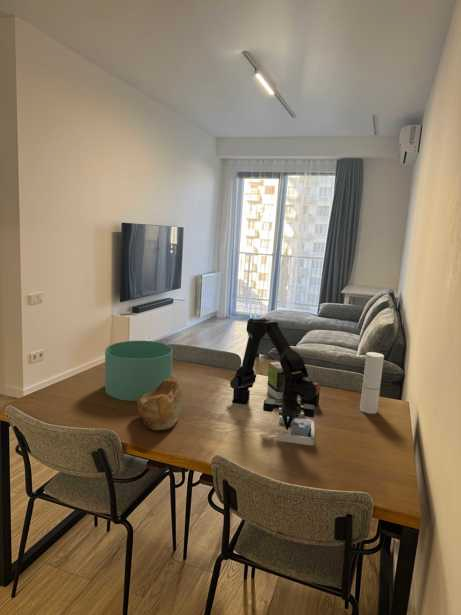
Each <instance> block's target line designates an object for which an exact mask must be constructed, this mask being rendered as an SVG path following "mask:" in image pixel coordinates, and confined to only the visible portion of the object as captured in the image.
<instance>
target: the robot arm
mask: <svg viewBox="0 0 461 615" xmlns="http://www.w3.org/2000/svg"><path fill="white" fill-rule="evenodd" d="M246 332H247V335H248V338H247V342H246V347H245V350H244V355H243V359H242V363H241V366H240V367H239V368H238V369H237V370H236V372H235V375H234V376H233V378H232V380H230V381H229V384H230V388H232V389H233V392H232V394H233V395H232V400H231V402H232V403H236V404H244V405H247V404H248V402H249V401H250V393H251V390H250V389H251V388H253V387H254V384H255V383H256V379H257V374H256V372H255V370H254V366H255V363H256V359H257V354H258V351H259V347H260V342H261V340H262V339H263V337H265V335H266V334H267V335H268V337H269V339H270V342H272V344H273V346H274V348H275V350H276V351H277V353H278V356H279V362H280V364H281V366H282V369H283V372H281V373H280V374H281V375H282V376H284V382H283V393H282V399H281V402H280V403H278V402H276V399H271V398H265V400H264V402H263V407H262V411H263V412H269V413H272V412H273V411H275V410H274V409H278V415H279V416H282V417H283V420H284V424H283V425H284V427H285V430H287V431H288V430H289V429H290V426H291V422H292V420H293V419H294V418H295V417H298V414H301V412H304V415H305V416H306V418H315V414H316V407H315V406H314V405H311V404H303V406H304V407H301V406H302V403H300V404H298V403H297V401H298V395H299V396H301V397H300V398H302V397H303V398H305V399H307V400H310V399H312V398H313V397H314V396H315V394H316V387H315V385H313V383H314V382H313V380H312V379H310V378H309V373H308V369H307V370H306V367H305V366H306V365H305V361H304V359H303V357H302V356H301V355H300V353H299V352H297V351H295V350H294V349H293V348H292V347H291V346H290V344H289V342H288V341H287V339H286V337H285V336H284V334H283V332H282V331H281V329H280V328H279V323H278V322H277V321H275V320H271V319H267V318H265V317H263V316H262V317H253V318H248V320H247V322H246ZM300 371H301V373H296V374H294V372H300ZM305 377H306V378H305ZM287 416H288V417H289V419H288V422H287Z"/></svg>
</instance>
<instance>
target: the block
mask: <svg viewBox="0 0 461 615" xmlns="http://www.w3.org/2000/svg"><path fill="white" fill-rule="evenodd" d="M310 432H311V422H309V421H304V420H299V419H295V421H294V422H293V424H292V425H291V430H290V434H291V435H298V436H305V437H310Z"/></svg>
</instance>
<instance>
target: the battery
mask: <svg viewBox="0 0 461 615" xmlns="http://www.w3.org/2000/svg"><path fill="white" fill-rule="evenodd" d="M313 385H315V387H316V394H315V396H314V397H313V398H312V399H310V400H307V399H305V398H303V397H301V398H300V399H301V400H300V404H301V405H304V404H311V405H314V406H315V408H316V407H317V406H318V405H319V404H320V395H321V384H319V383H318V382H313Z"/></svg>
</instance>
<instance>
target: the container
mask: <svg viewBox="0 0 461 615" xmlns="http://www.w3.org/2000/svg"><path fill="white" fill-rule="evenodd" d="M173 351H174V350H173V348H172V346H170V345H168V344H166V343H163V342H158V341H154V340H153V341H152V340H128V341H127V340H126V341H120V342H116V343H111V344H110V345H108V346H107V347H106V348H105V350H104V353H105V355H104V392H105V394H107V395H108V396H110V397H112V398H114V399H117V400H122V401H128V402H137V400H138V399H139V398H140V397H141V396H142V395H144V394H146V393H149V392H151V391H153V390H155V389H156V388H157V387H158V386H159V385H160V384H161V383H162V382H163V381H164V380H166V379H168V378H169V377H170V376H173Z"/></svg>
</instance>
